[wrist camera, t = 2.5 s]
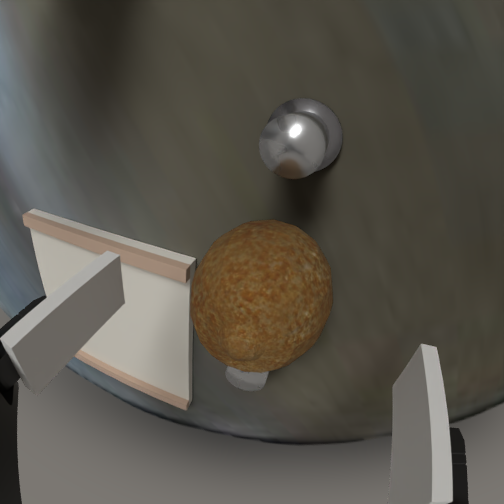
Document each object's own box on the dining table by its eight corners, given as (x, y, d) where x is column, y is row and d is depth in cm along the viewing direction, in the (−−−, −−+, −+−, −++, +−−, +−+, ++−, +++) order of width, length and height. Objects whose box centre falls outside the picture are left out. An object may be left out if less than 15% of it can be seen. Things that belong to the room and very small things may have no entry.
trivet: (66, 339, 30) (59, 347, 29) (34, 208, 22) (22, 214, 21) (192, 399, 27) (186, 410, 26) (196, 258, 19) (186, 269, 18)
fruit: (316, 182, 15) (289, 260, 8) (350, 286, 17) (341, 401, 11) (210, 216, 18) (128, 296, 11) (252, 305, 20) (204, 405, 13)
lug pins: (234, 344, 22) (214, 385, 19) (274, 92, 14) (250, 90, 10) (282, 358, 21) (269, 403, 18) (349, 107, 13) (351, 110, 10)
